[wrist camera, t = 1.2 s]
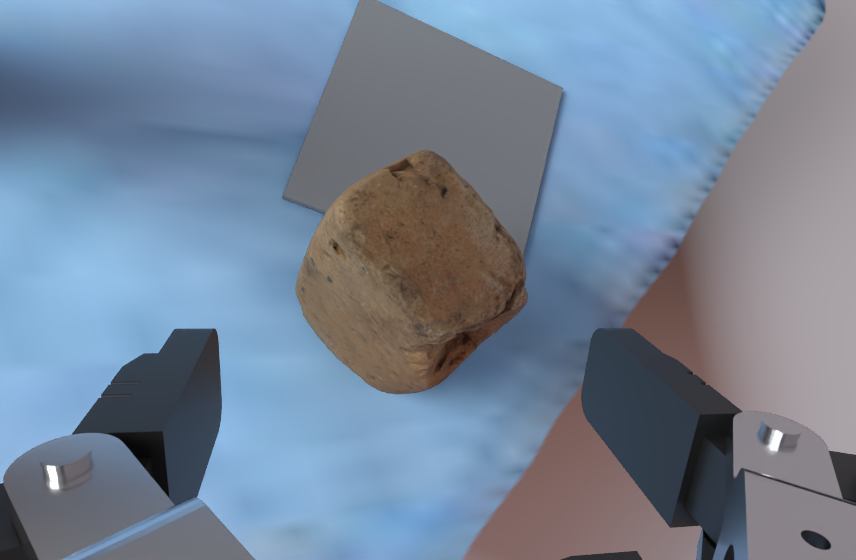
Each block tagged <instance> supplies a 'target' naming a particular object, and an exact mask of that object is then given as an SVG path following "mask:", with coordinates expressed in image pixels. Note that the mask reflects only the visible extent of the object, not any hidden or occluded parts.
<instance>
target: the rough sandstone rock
mask: <svg viewBox="0 0 856 560" xmlns="http://www.w3.org/2000/svg"><path fill="white" fill-rule="evenodd" d="M525 279H526V270H525V264H524V259H523V254H522V252H521V250H520V249H519V247H518V245H517V244H516V242H515V240H514V239H513V238H512V237H511V235H510V234H509V233H508V232H507V230H506V229H505V228H504V227H503V226H502V225H501V223H500V222H499V221H498V220H497V218H496V217H495V216H494V214H493V211H492V210H491V209H490V208H489V207H488V206H487V205H486V204H485V203H484V202H483V200H482V199H481V197H480V196H479V194H478V193H477V192H476V191H475V190H474V188H473V187H472V186H471V185H470V184H469V183H468V182H467V181H465V180H464V179H463V178H462V177H461V176H460V175H459V174H458V173H457V172H456V171H455V169H454V168H453V167H452V166H451V165H450V164H449V163H448V162H447V161H446V160H445V159H444V158H443V157H441V156H440V155H438V154H436V153H435V152H433V151H430V150H427V149H424V150H421V151H418V152H414V153H412V154H410V155H408V156H406V157H404V158H402V159H400V160H398V161H396V162H394V163H392V164H390V165H388V166H386V167H383V168H381V169H379V170H376V171H374V172H373V173H371V174H369V175H367V176H366V177H364V178H363V179H361V180H360V181H358V182H357V183H355V184H353V185H352V186H350V187H349V188H348V189H347V190H345V191H344V192H343V193H342V194H341V195H340V196H339V197H338V198H337V199H336V200H335V201H334V202H333V204H332V205H331V206H330V208H329V209H328V210H327V212H326V213H325V215H324V217H323V218H322V220H321V222H320V224H319V225H318V227H317V229H316V231H315V233H314V235H313V237H312V240H311V242H310V244H309V247H308V250H307V252H306V255H305V257H304V260H303V263H302V265H301V269H300V271H299V273H298V280H297V284H296V295H297V297H298V300H299V302H300V304H301V306H302V312H303V315H304V317H305V318H306V320H307V321H308V323H309V324H310V326H311V327H312V329H313V330H314V331H315V333H316V334H317V336H318V337H319V338H320V339H321V340H322V341H323V342H324V344H325V345H326V347H327V348H328V349H329V350H330V351H332V353H333V354H334V355H335V356H336V357H337V358H338V359H339V360H340V361H342V362H343V363H344V364H345V365H346V366H348V367H349V368H350V369H351V370H352V371H353V372H355V373H356V374H357V375H358V376H360V377H361V378H362V379H363V380H364V381H365V382H366V383H367V384H369V385H370V386H372V387H374V388H376V389H377V390H380V391H382V392H386V393H391V394H406V393H416V392H420V391H424V390H427V389H430V388H432V387H434V386H436V385H438V384H440V383H441V382H442V381H443V380H445V379H446V378H447V377H448V376H449V375H450V374H451V373H452V372H453V371H454V370H455V369H456V368H457V367H458V366H459V365H460V364H461V363H462V362H463V361H464V360H465V359H466V358H467V357H468V356H469V355H470V354H471V353H472V352H473V351H474V350H475V349H476V348H477V346H478V345H479V344H481V343H482V342H483V341H484V340H486V339H487V338H488V337H489V336H490V335H492V334H493V333H495V332H497V331H498V330H499V329H500V328H501V327H502V326H503V325H504V324H506V323H507V322H509V321H510V320H511V319H512V318H513V317H514V316H515V315H516V314H518V313H519V312H520V310H521V309H522V308H523V307H524V305H525V304H526V303H527V299H528V296H527V292H526V289H525V286H524V285H525Z"/></svg>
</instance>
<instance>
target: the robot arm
mask: <svg viewBox="0 0 856 560" xmlns="http://www.w3.org/2000/svg"><path fill="white" fill-rule="evenodd" d="M581 399H582V407H583V411H584V414H585V416H586V419H587V420H588V422H589V423H590V424H591V425H592V427H593V428H594V429H595V430H596V432H597V433H598V434H599V436H600V437H601V438H602V440H603V441H604V442H605V444H606V445H607V446H608V448H609V449H610V450H611V451H612V453H613V454H614V455H615V457H616V458H617V459H618V461H619V462H620V463H621V464H622V466H623V467H624V468H625V470H626V471H627V472H628V473H629V475H630V476H631V477H632V478H633V480H634V481H635V483H636V484H637V485H638V486H639V488H640V489H641V490H642V492H643V493H644V494H645V496H646V497H647V498H648V499H649V501H650V502H651V503H652V505H653V506H654V507H655V508H656V510H657V511H658V512H659V514H660V515H661V516H662V518H663V519H664V520H665V521H666V523H667V524H668V525H669V527H685V526H699V525H700V526H701V527H702V531H701V534H700V538H699V541H698V545H697V557H696V560H856V455H853V454H846V453H840V452H833V451H829V450H828V447H827V445H826V443H825V442H824V440H823V439H822V438H821V437H820V436H818V435H817V434H816V433H814V432H813V431H812V430H810V429H809V428H807V427H805V426H803V425H801V424H799V423H797V422H795V421H793V420H790V419H788V418H785V417H782V416H778V415H775V414H771V413H766V412H759V411H745V412H742V411H741V410H740V409H739V408H737V407H736V406H735V405H733V404H732V403H731V402H730V401H728V400H727V399H726V398H725V397H723V396H722V395H721V394H720V393H718V392H717V391H716V390H714V389H713V388H712V387H711V386H709V385H706V384H705V382H704V381H703V380H702V379H701V378H699V377H698V376H696V375H693V373H692V371H690V370H689V369H688V368H687V367H685V366H684V365H683V364H682V363H680V362H679V361H678V360H676V359H674V358H672V357H670V356H668V355H666V354H664V353H662V352H661V351H660V350H658V349H657V348H656V347H655V346H654V345H652V344H651V343H650V342H648V341H647V340H646V339H645V338H643V337H642V336H641V335H640V334H639V333H637V332H636V331H635V330H633V329H630V328H600V329H597V330H596V331H595V332H594V333H593V335H592V338H591V343H590V348H589V354H588V359H587V365H586V370H585V376H584V382H583V387H582V396H581ZM221 410H222V397H221V379H220V361H219V343H218V335H217V331H216V329H174V330H173V332H172V333H171V335H170V336H169V338H168V340H167V341H166V343H165V344H164V346H163V347H162V349H161V350H160V352H159V353H151V354H142V355H141V356H139V357H138V358H136V359H134V360H133V361H131V362H129V363H128V364H126V365H124V366H123V367H122V368H121V369H120V371H119V372H118V373H117V375H116V376H115V377H114V379H113V380H112V381H111V385H108V387H107V388H106V389H105V391H104V392H103V393H102V395H101V398H99V399H98V400H97V401H96V403H95V404H94V405H93V407H92V408H91V409H90V411H89V412H88V413H87V415H86V416H85V417H84V419H83V420H82V421H81V423H80V424H79V425H78V427H77V428H76V429H75V431H74V432H73V433H72V435H69V436H64V437H60V438H57V439H54V440H51V441H48V442H45V443H43V444H41V445H39V446H36V447H34V448H32V449H31V450H29V451H27V452H26V453H24V454H23V455H21V456H20V457H19V458H17V459H16V460H15V461H14V462H13V463H12V464H11V465H10V466H9V468H8V469H7V470H6V472H5V474H4V478H3V483H2V484H0V560H255V559H254V558H253V557H252V555H251V554H250V553H249V552H248V551H247V550H246V549H245V548H244V547H243V545H242V544H241V543H240V542H239V541H238V540H237V539H236V538H235V536H234V535H233V534H232V533H231V532H230V531H229V530H228V529H227V528H226V526H225V525H224V524H223V523H222V522H221V521H220V520H219V519H218V517H217V516H216V515H215V514H214V513H213V512H212V511H211V510H210V509H209V507H208V506H207V505H206V504H205V503H204V502H203V501H202V500H200V499H199V498H197V495H198V492H199V489H200V486H201V483H202V480H203V477H204V474H205V471H206V468H207V465H208V462H209V459H210V456H211V453H212V450H213V447H214V444H215V441H216V438H217V434H218V431H219V427H220V421H221ZM562 560H642V558H641V557H640V556H639V554H638V552H637V551H630V552H618V553H605V554H593V555H580V556H570V557H567V558H565V559H562Z"/></svg>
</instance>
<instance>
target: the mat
mask: <svg viewBox="0 0 856 560" xmlns="http://www.w3.org/2000/svg"><path fill="white" fill-rule="evenodd" d="M562 90H563V88H562V87H560V86H558V85H555V84H553V83H551V82H549V81H547V80H545V79H543V78H541V77H538V76H536V75H534V74H532V73H530V72H528V71H526V70H524V69H521V68H519V67H517V66H515V65H513V64H511V63H509V62H507V61H504V60H502V59H500V58H498V57H496V56H494V55H492V54H490V53H487V52H485V51H483V50H481V49H479V48H477V47H475V46H472V45H470V44H468V43H466V42H464V41H462V40H460V39H458V38H455V37H453V36H451V35H449V34H447V33H445V32H443V31H441V30H438V29H436V28H434V27H432V26H430V25H428V24H426V23H424V22H421V21H419V20H417V19H415V18H413V17H411V16H409V15H406V14H404V13H402V12H400V11H398V10H396V9H394V8H392V7H389V6H387V5H385V4H383V3H381V2H379V1H377V0H360V1H359V3H358V6H357V8H356V11H355V13H354V16H353V18H352V21H351V24H350V26H349V29H348V31H347V34H346V36H345V39H344V41H343V44H342V46H341V49H340V51H339V54H338V57H337V59H336V62H335V64H334V67H333V69H332V72H331V74H330V77H329V79H328V82H327V84H326V87H325V90H324V92H323V95H322V97H321V100H320V102H319V105H318V107H317V110H316V112H315V115H314V117H313V120H312V123H311V125H310V128H309V130H308V133H307V135H306V138H305V140H304V143H303V145H302V148H301V150H300V153H299V156H298V158H297V161H296V163H295V166H294V168H293V171H292V173H291V176H290V178H289V181H288V183H287V186H286V189H285V191H284V194H283V197H282V198H283V199H285V200H288V201H291V202H294V203H296V204H299V205H302V206H304V207H307V208H310V209H312V210H315V211H318V212H320V213H323V214H325V213H326V212H327V210H328V209H329V208H330V206H331V205H332V204H333V202H334V201H335V200H336V199H337V198H338V197H339V196H340V195H341V194H342V193H343V192H344V191H345V190H347V189H348V188H349V187H350V186H352V185H353V184H355V183H357V182H358V181H360V180H361V179H363V178H364V177H366V176H367V175H369V174H371V173H373V172H374V171H376V170H379V169H381V168H383V167H386V166H388V165H390V164H392V163H394V162H396V161H398V160H400V159H402V158H404V157H406V156H408V155H410V154H412V153H414V152H418V151H421V150H424V149H427V150H430V151H433V152H435V153H436V154H438V155H440V156H441V157H443V158H444V159H445V160H446V161H447V162H448V163H449V164H450V165H451V166H452V167H453V168H454V169H455V171H456V172H457V173H458V174H459V175H460V176H461V177H462V178H463V179H464V180H465V181H467V182H468V183H469V184H470V185H471V186H472V187H473V188H474V190H475V191H476V192H477V193H478V194H479V196H480V197H481V199H482V200H483V202H484V203H485V204H486V205H487V206H488V207H489V208H490V209H491V210H492V211H493V214H494V216H495V217H496V218H497V220H498V221H499V222H500V223H501V225H502V226H503V227H504V228H505V229H506V230H507V232H508V233H509V234H510V235H511V237H512V238H513V239H514V240H515V242H516V244H517V245H518V247H519V249H520V250H521V252H522V254H523V256H524V251H525V247H526V243H527V239H528V234H529V230H530V226H531V222H532V217H533V213H534V209H535V205H536V201H537V196H538V192H539V188H540V184H541V179H542V175H543V171H544V167H545V162H546V158H547V154H548V150H549V145H550V141H551V137H552V133H553V128H554V124H555V120H556V116H557V111H558V107H559V103H560V99H561V95H562Z"/></svg>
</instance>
